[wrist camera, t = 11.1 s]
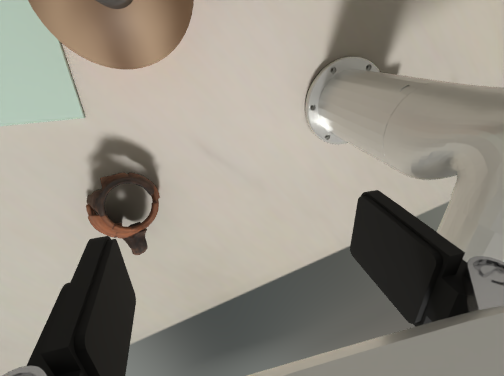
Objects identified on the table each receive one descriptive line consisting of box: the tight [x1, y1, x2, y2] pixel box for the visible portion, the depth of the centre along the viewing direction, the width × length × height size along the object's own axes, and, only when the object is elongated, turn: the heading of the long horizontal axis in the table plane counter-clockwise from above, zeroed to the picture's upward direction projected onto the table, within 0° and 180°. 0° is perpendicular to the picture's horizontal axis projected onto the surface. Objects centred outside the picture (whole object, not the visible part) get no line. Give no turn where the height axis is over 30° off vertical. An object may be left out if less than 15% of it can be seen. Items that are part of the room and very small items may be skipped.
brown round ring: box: [86, 172, 160, 255], centre depth 39 cm, size 12×10×8 cm
